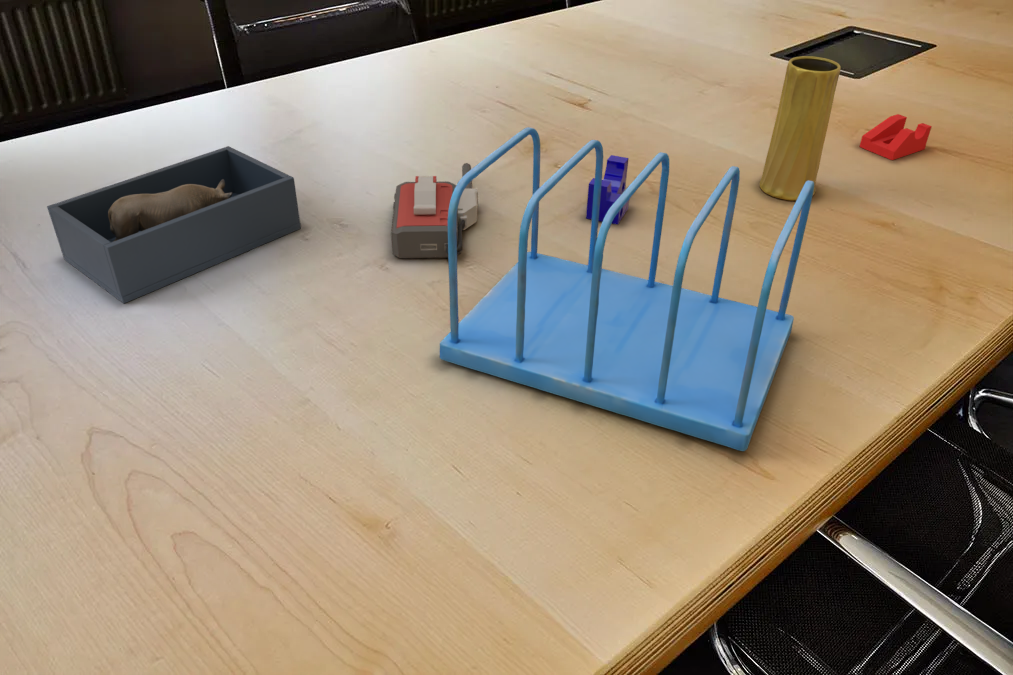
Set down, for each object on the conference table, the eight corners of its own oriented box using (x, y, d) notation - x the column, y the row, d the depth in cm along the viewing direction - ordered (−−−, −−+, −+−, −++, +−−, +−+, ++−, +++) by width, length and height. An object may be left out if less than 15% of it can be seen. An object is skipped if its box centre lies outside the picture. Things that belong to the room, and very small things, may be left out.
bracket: (891, 136, 110) (898, 114, 109) (924, 149, 107) (931, 126, 105) (859, 146, 107) (865, 123, 106) (892, 160, 104) (898, 136, 102)
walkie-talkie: (481, 264, 82) (476, 176, 99) (481, 223, 80) (475, 140, 96) (389, 266, 82) (399, 177, 98) (386, 225, 79) (397, 140, 96)
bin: (64, 259, 82) (46, 206, 79) (237, 194, 94) (228, 145, 91) (123, 303, 76) (107, 247, 73) (301, 228, 88) (294, 177, 85)
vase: (756, 176, 100) (781, 53, 92) (810, 179, 99) (839, 56, 91) (762, 199, 95) (788, 71, 87) (818, 203, 94) (850, 74, 86)
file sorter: (790, 333, 74) (832, 168, 65) (744, 458, 61) (788, 273, 52) (527, 265, 82) (532, 111, 74) (438, 362, 70) (431, 190, 61)
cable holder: (617, 224, 90) (621, 189, 87) (586, 218, 91) (588, 183, 88) (638, 193, 96) (641, 160, 93) (608, 188, 97) (611, 155, 94)
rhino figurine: (263, 235, 85) (254, 180, 82) (117, 268, 80) (101, 210, 76) (252, 218, 88) (242, 164, 85) (110, 249, 82) (94, 192, 79)
